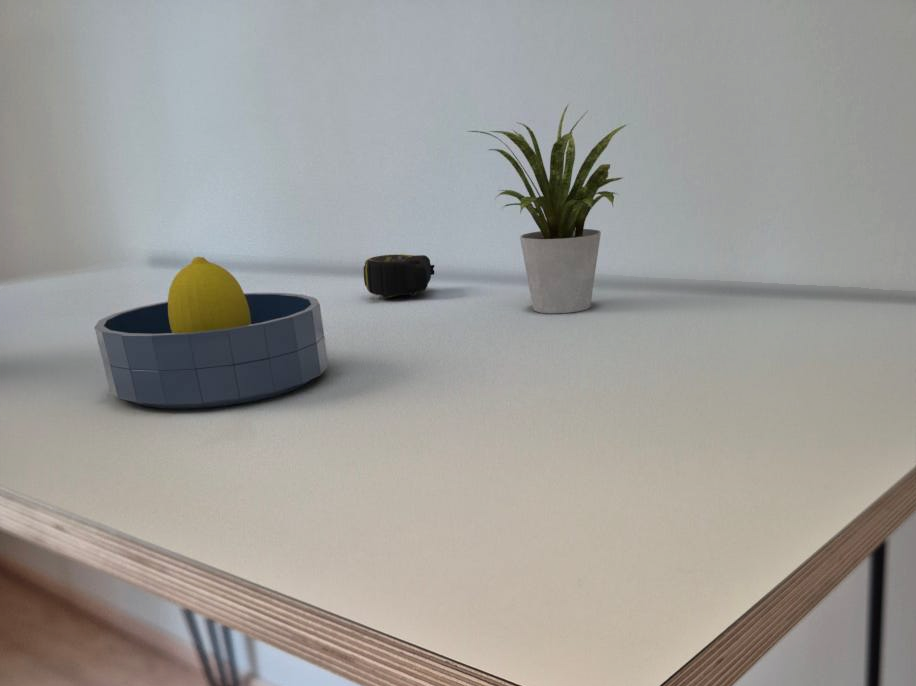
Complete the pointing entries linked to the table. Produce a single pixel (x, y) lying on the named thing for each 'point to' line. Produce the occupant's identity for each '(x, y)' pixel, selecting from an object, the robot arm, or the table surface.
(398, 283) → the tape measure
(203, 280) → the lemon
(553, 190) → the house plant
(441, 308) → the table surface
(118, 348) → the bowl
